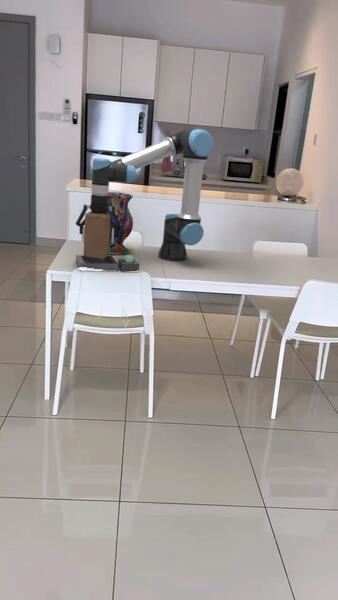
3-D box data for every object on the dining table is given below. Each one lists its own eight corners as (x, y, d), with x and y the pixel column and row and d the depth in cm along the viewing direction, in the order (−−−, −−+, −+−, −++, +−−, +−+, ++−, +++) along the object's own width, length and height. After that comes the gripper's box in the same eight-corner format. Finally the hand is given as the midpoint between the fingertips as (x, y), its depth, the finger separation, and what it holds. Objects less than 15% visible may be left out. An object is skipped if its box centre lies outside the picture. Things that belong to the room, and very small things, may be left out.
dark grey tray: (111, 262, 235) (111, 255, 234) (117, 271, 222) (118, 263, 221) (75, 262, 229) (75, 255, 228) (80, 271, 216) (80, 263, 215)
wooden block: (103, 260, 219) (106, 215, 212) (82, 257, 220) (84, 213, 214) (110, 255, 228) (112, 212, 222) (89, 252, 229) (91, 210, 223)
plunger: (131, 265, 228) (132, 255, 226) (133, 267, 224) (134, 257, 222) (123, 265, 226) (123, 254, 225) (125, 267, 223) (125, 257, 221)
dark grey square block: (134, 267, 231) (135, 259, 229) (138, 272, 223) (139, 263, 222) (117, 267, 228) (118, 259, 227) (121, 272, 221) (122, 263, 219)
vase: (97, 246, 265) (99, 190, 256) (130, 248, 268) (134, 193, 258) (95, 254, 248) (98, 194, 239) (131, 256, 251) (135, 197, 241)
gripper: (124, 194, 222) (122, 240, 229) (70, 191, 214) (68, 239, 221) (128, 197, 216) (125, 244, 222) (72, 194, 208) (71, 242, 214)
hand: (97, 241), depth 222 cm, fingers closed on wooden block, 13 cm apart
